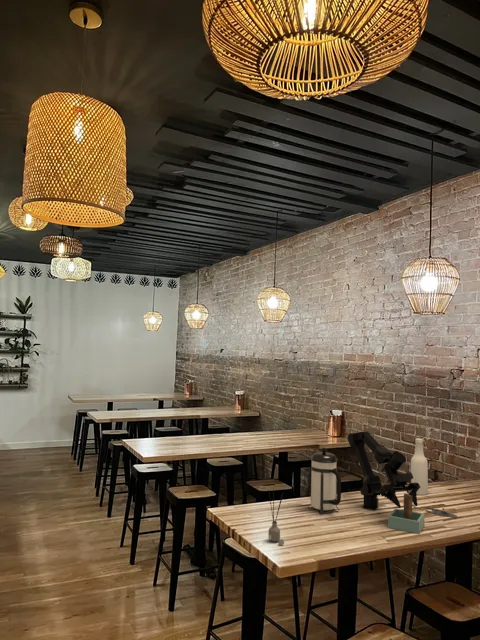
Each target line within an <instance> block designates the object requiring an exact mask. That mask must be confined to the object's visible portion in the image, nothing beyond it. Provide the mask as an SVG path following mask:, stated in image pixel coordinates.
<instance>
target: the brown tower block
mask: <svg viewBox="0 0 480 640" xmlns="http://www.w3.org/2000/svg"><path fill="white" fill-rule="evenodd" d="M403 510H404V518H405V519H410V520H412V512H413V502H412V496H411V495H409V494H408V493H404V494H403Z"/></svg>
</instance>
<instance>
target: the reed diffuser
mask: <svg viewBox="0 0 480 640" xmlns="http://www.w3.org/2000/svg"><path fill="white" fill-rule="evenodd" d="M272 490H273V491H272V495H273V496H272V499H271V496H270V495H271V493H270V492H268V495H269V496H268V497H269V503H270V509H271V511H272V512H271V516H272V517H271V518H272V522H271V524H272V525H271V526H270V527H269V528H268V540H269V541H272V542H278V545H279V546H283V545H284V544H285V540H284V539H282V538H281V528H279V527H278V521H277V519H278V514H279V511H280V508H281V504H282V501H283V500H282V499H283V496H284V493H285V491H284V490H283V492H282V494H281V496H280V500H279V505H278V509H277V512H276V517H275V502H274V501H275V489H272ZM268 491H270V489H268ZM272 502H273V503H272ZM272 506H273V507H272Z"/></svg>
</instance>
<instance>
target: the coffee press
mask: <svg viewBox="0 0 480 640" xmlns="http://www.w3.org/2000/svg"><path fill="white" fill-rule="evenodd" d="M310 460H311V464H310V465H311V466H310V504H309V505H308V506H307V508H308V509H309V510H311V509H312V508H314V509H316V510H319V515H324V511H331V510H334V511H335V512H336V513H339V511H340V509H339V507H338V506H339V504H341V501H342V477H341V475H340V473H339V471H338V466H337V462H338V458H337V457H336V455H335V454H333V453H332V452H327V448H326V447H322V449H321V451H317V452H314V453H313V454H312V455H311V457H310ZM310 506H311V507H310Z"/></svg>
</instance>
